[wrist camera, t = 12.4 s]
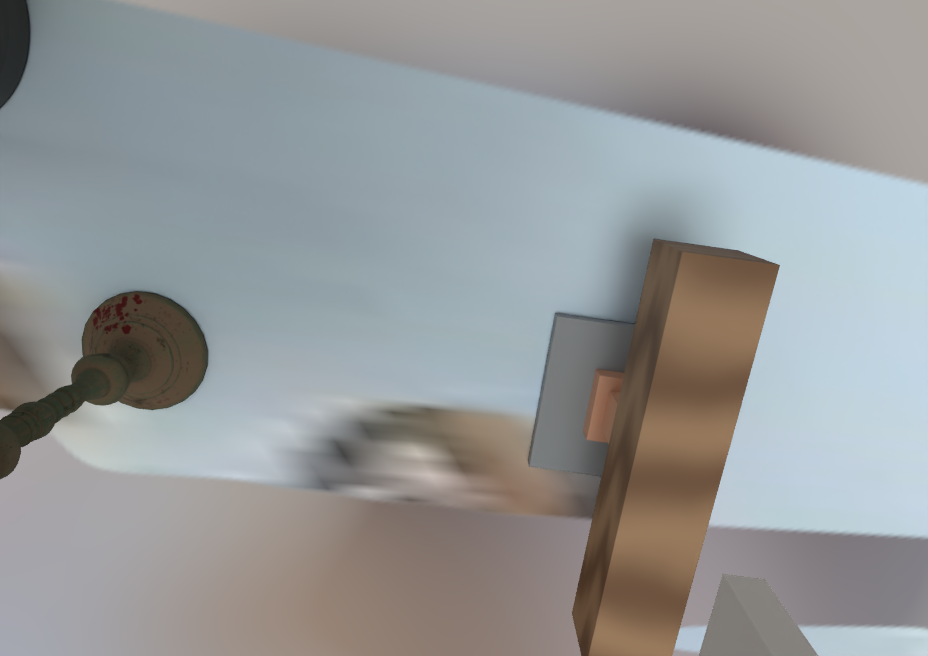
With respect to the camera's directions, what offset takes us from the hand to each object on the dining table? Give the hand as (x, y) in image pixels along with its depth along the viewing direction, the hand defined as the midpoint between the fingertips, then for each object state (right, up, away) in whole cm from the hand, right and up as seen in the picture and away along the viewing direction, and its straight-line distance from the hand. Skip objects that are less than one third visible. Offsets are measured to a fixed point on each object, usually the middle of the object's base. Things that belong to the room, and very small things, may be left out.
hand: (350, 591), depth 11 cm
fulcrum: (+14, -1, +36) cm, 39 cm away
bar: (+14, -3, +28) cm, 32 cm away
